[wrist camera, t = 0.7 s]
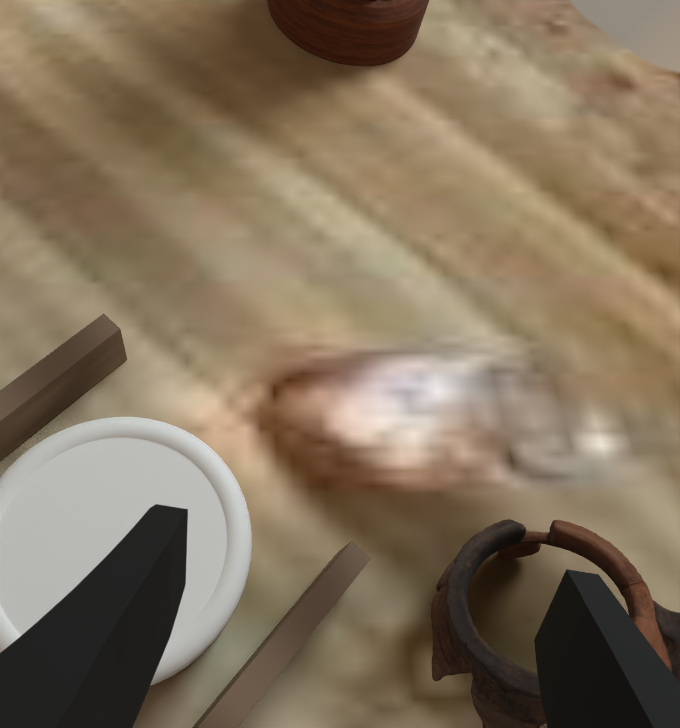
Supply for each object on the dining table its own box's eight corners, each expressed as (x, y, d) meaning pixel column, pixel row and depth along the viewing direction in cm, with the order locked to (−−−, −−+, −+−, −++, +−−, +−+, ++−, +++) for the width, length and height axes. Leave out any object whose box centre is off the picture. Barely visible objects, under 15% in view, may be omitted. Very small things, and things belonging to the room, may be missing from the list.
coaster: (-16, 464, 26) (-45, 437, 23) (222, 422, 29) (226, 393, 26) (-4, 730, 23) (-36, 740, 20) (268, 652, 26) (278, 650, 22)
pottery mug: (449, 837, 24) (452, 751, 19) (412, 609, 32) (406, 504, 27) (763, 802, 24) (850, 707, 19) (651, 582, 32) (692, 471, 26)
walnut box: (-75, 1104, 18) (-121, 1177, 16) (-378, 727, 21) (-463, 735, 18) (354, 569, 27) (371, 558, 25) (112, 345, 30) (103, 313, 27)
